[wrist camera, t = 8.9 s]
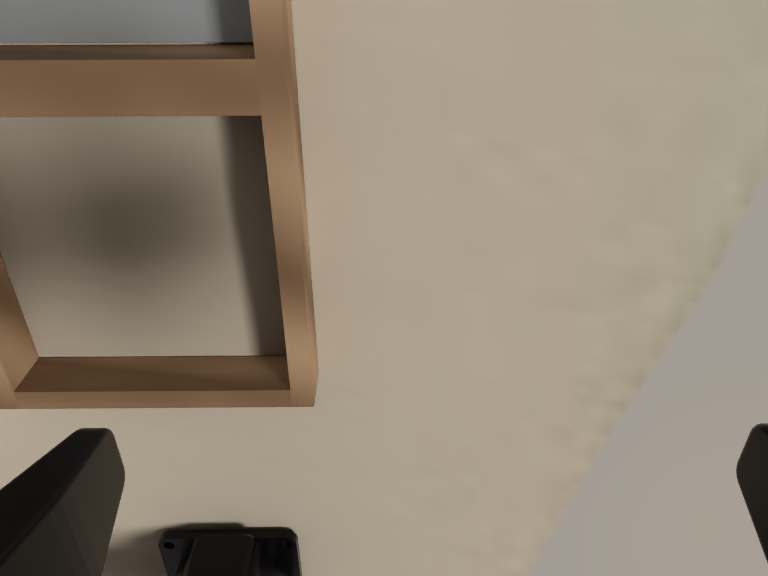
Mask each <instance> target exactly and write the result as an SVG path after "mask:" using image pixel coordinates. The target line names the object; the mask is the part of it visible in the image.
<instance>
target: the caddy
mask: <svg viewBox="0 0 768 576" xmlns="http://www.w3.org/2000/svg"><path fill="white" fill-rule="evenodd" d="M151 42H253V43H254V44H219V45H0V117H65V116H261V118H262V128H263V137H264V147H265V156H266V165H267V175H268V184H269V193H270V203H271V212H272V222H273V231H274V240H275V250H276V259H277V268H278V278H279V287H280V297H281V306H282V315H283V325H284V334H285V343H286V353H287V356H222V357H79V358H39V357H38V354H37V352H36V349H35V346H34V344H33V341H32V338H31V336H30V333H29V330H28V327H27V325H26V322H25V319H24V317H23V314H22V311H21V309H20V306H19V303H18V301H17V298H16V295H15V292H14V290H13V287H12V284H11V282H10V279H9V276H8V274H7V271H6V268H5V266H4V263H3V260H2V257H1V255H0V409H66V408H200V407H314V402H315V394H316V387H317V379H318V360H317V347H316V333H315V320H314V307H313V293H312V280H311V266H310V253H309V239H308V226H307V212H306V199H305V186H304V172H303V159H302V145H301V132H300V118H299V105H298V91H297V78H296V65H295V51H294V38H293V24H292V11H291V0H0V43H151Z"/></svg>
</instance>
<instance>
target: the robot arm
mask: <svg viewBox="0 0 768 576" xmlns="http://www.w3.org/2000/svg"><path fill="white" fill-rule="evenodd" d="M736 471H737V472H736V473H737V479H738V483H739V486H740V488H741V491H742V494H743V497H744V499H745V502H746V505H747V508H748V510H749V513H750V516H751V518H752V521H753V524H754V527H755V530H756V532H757V535H758V538H759V540H760V543H761V546H762V549H763V552H764V554H765V557H766V560H767V562H768V424H766V423H765V424H757V425H756V426H755V427H753V428H752V430H751V432H750V434H749V437H748V439H747V442H746V444H745V446H744V448H743V451H742V453H741V455H740V458H739V460H738V463H737V469H736ZM124 482H125V470H124V466H123V463H122V459H121V456H120V453H119V450H118V447H117V444H116V440H115V437H114V435H113V433H112V432H111V430H109V429H106V428H82V429H79V430H77V431H75V432H74V433H72V434H71V435H70V436H68V437H67V438H66V439H65V440H63V441H62V442H61V443H59V444H58V445H57V446H56V447H54V448H53V449H52V450H51V451H49V452H48V453H47V454H45V455H44V456H43V457H42V458H40V459H39V460H38V461H36V462H35V463H34V464H33V465H31V466H30V467H29V468H27V469H26V470H25V471H24V472H22V473H21V474H20V475H18V476H17V477H16V478H15V479H13V480H12V481H11V482H10V483H8V484H7V485H6V486H4V487H3V488H2V489H1V490H0V576H101V574H102V570H103V566H104V562H105V558H106V554H107V550H108V546H109V542H110V539H111V535H112V531H113V527H114V523H115V519H116V515H117V511H118V507H119V503H120V499H121V495H122V491H123V487H124ZM159 549H160V552H161V556H162V559H163V562H164V565H165V569H166V572H167V575H168V576H302V571H301V562H300V554H299V545H298V537H297V535H296V534H295V533H294V532H292V531H286V530H285V531H169V532H165V533H163V534H162V535H161V537H160V540H159Z"/></svg>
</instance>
